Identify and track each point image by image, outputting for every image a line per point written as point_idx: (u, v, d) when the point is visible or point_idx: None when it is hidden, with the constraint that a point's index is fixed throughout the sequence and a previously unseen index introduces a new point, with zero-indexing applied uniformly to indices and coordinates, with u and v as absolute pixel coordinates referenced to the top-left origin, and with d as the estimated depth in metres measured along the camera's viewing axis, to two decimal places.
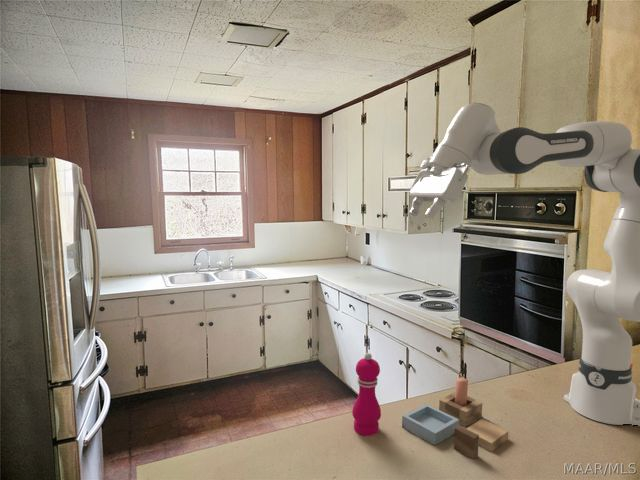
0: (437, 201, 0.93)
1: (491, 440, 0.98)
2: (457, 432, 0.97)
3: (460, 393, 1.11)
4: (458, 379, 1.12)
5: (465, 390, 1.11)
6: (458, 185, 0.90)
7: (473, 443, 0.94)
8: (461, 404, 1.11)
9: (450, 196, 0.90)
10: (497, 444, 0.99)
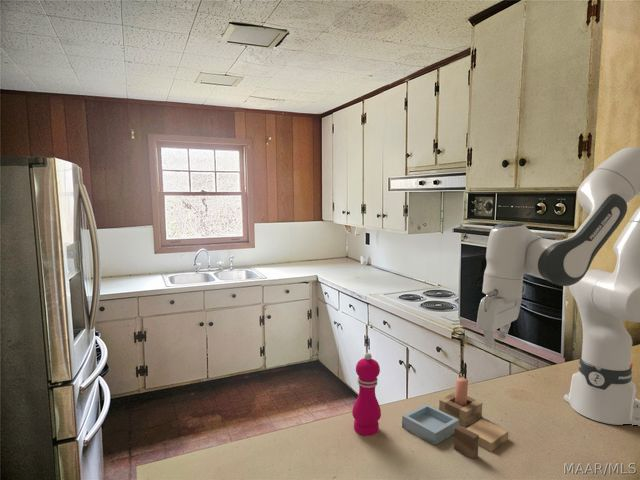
0: (484, 331, 0.99)
1: (491, 440, 0.98)
2: (457, 432, 0.97)
3: (460, 393, 1.11)
4: (458, 379, 1.12)
5: (465, 390, 1.11)
6: (486, 315, 0.96)
7: (473, 443, 0.94)
8: (461, 404, 1.11)
9: (482, 327, 0.96)
10: (497, 444, 0.99)
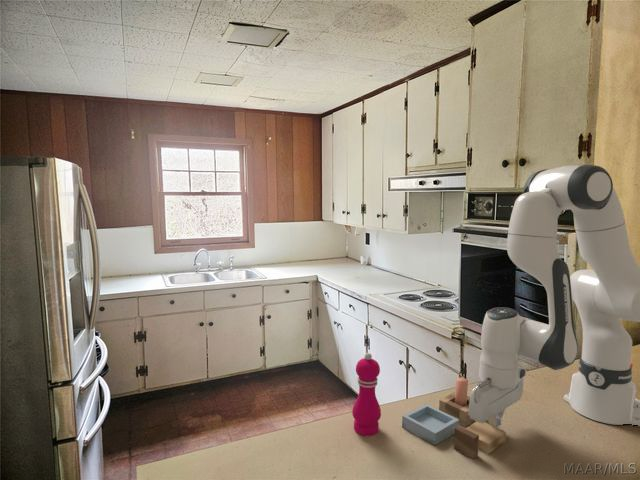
0: None
1: (488, 441, 0.97)
2: (457, 432, 0.97)
3: (460, 393, 1.11)
4: (458, 379, 1.12)
5: (465, 390, 1.11)
6: (476, 407, 0.98)
7: (473, 443, 0.94)
8: (461, 404, 1.11)
9: (473, 418, 0.98)
10: (494, 445, 0.98)
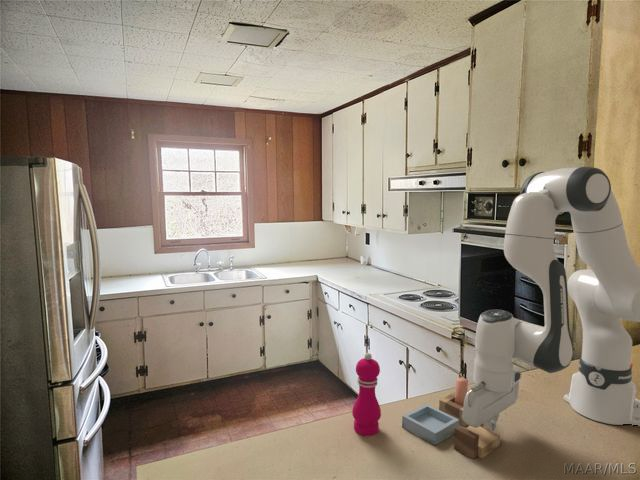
0: None
1: (482, 445, 0.96)
2: (457, 432, 0.97)
3: (460, 393, 1.11)
4: (458, 379, 1.12)
5: (465, 390, 1.11)
6: (470, 411, 0.96)
7: (473, 443, 0.94)
8: (461, 404, 1.11)
9: (467, 422, 0.97)
10: (488, 449, 0.97)
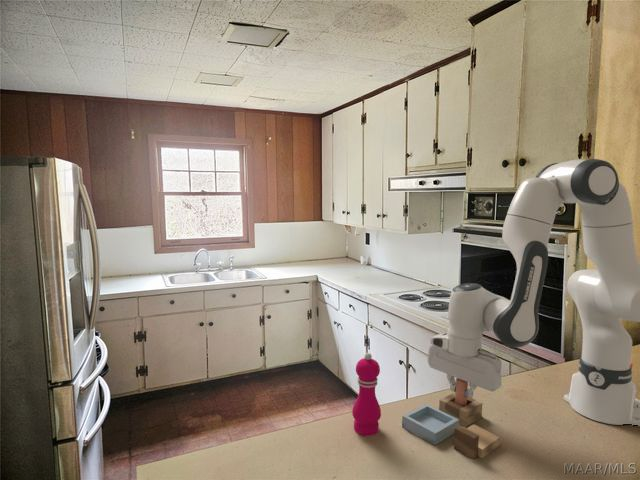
0: (474, 386, 1.08)
1: (482, 446, 0.96)
2: (457, 432, 0.97)
3: (460, 393, 1.11)
4: (458, 379, 1.12)
5: None
6: (498, 376, 1.04)
7: (473, 443, 0.94)
8: (461, 404, 1.11)
9: (497, 388, 1.04)
10: (488, 450, 0.97)
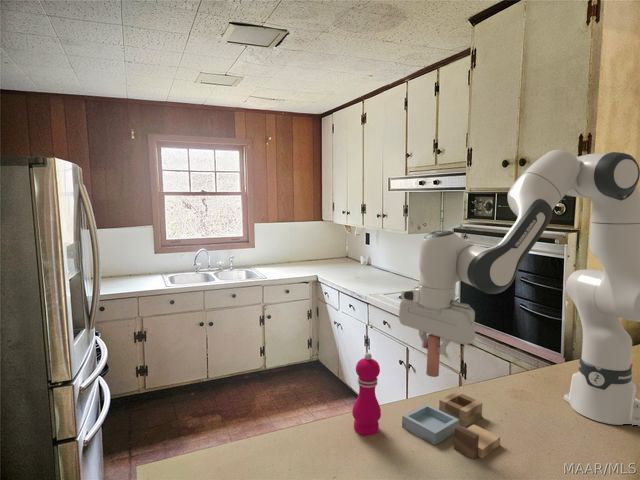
0: (446, 341, 1.00)
1: (482, 446, 0.96)
2: (457, 432, 0.97)
3: (432, 349, 1.03)
4: (430, 335, 1.04)
5: None
6: (472, 328, 0.96)
7: (473, 443, 0.94)
8: (433, 361, 1.03)
9: (470, 341, 0.96)
10: (488, 450, 0.97)
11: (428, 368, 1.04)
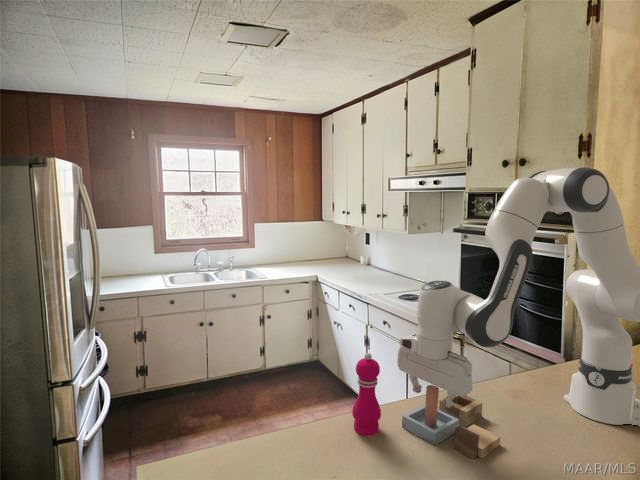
0: (452, 394, 1.00)
1: (482, 446, 0.96)
2: (457, 432, 0.97)
3: (430, 402, 1.04)
4: (428, 387, 1.05)
5: (435, 399, 1.04)
6: (469, 380, 0.97)
7: (473, 443, 0.94)
8: (431, 413, 1.04)
9: (468, 393, 0.97)
10: (488, 450, 0.97)
11: (426, 420, 1.05)
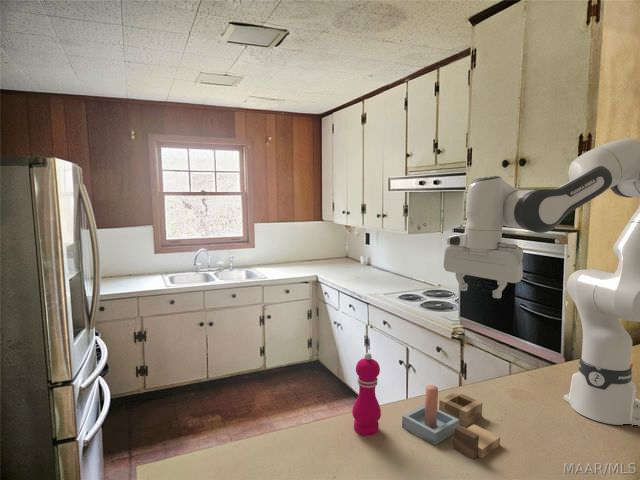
0: (503, 284, 1.02)
1: (482, 446, 0.96)
2: (457, 432, 0.97)
3: (429, 402, 1.04)
4: (428, 387, 1.05)
5: (435, 398, 1.04)
6: (520, 267, 0.99)
7: (473, 443, 0.94)
8: (431, 413, 1.04)
9: (519, 279, 0.99)
10: (488, 450, 0.97)
11: (426, 420, 1.05)
